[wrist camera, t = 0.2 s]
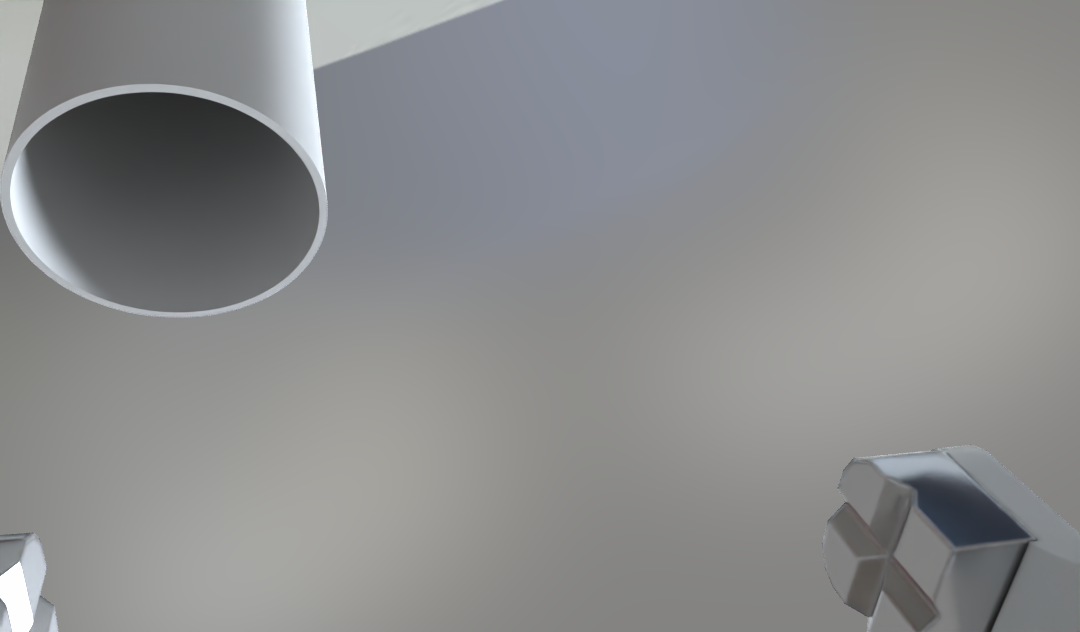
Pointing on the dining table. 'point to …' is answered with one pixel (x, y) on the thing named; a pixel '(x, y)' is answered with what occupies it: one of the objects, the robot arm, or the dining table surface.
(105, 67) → the cylinder vase
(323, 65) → the dining table surface
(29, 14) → the dining table surface
